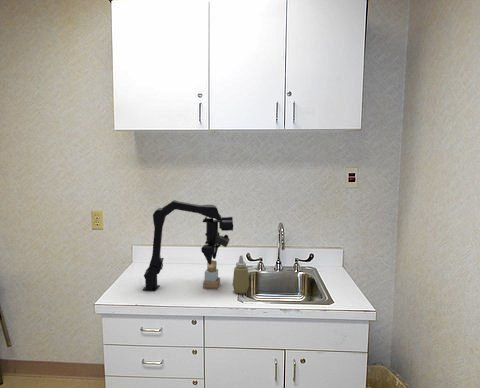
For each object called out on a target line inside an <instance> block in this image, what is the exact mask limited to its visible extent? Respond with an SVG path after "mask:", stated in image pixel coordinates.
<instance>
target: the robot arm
mask: <svg viewBox="0 0 480 388" xmlns="http://www.w3.org/2000/svg"><path fill="white" fill-rule="evenodd" d="M175 210H176V211H177V210H178V211H184V212H189V213H194V214H199V215H202V216H203V217H204V218H203V219H202V223H205V224H206V225H205V226H206V230H205V231H206V232H205V236H206V238H205V239H206V241H205V243H204V245H203V246H202V247H200V249H201V250H200V251H201V253H202V254H203V255H204V257H205V260H206V262H208V264H210V265H211V262H212V260H215V259H216V257H217V253H218V250H219V248H220V247H221V246H222V247H224V248H227V247H228V245H229V243H230V241H231V240H230V238H229V235H228V234H224V235H221V234H220V232H219V229H220V230H221V232H223V231H224V232H226V231H231V232H233V230H234V221H233V219H234V218H233V216H228V217H227V216H222V215H221V214H220V213H219V210H218V207H217V205H214V204H196V203H195V204H194V203H189V202H184V201H179V200H175V199H174V200H172V201H171V202H169V203H167V204H166V205H164V206H163V207H158V208H157V209H155V211H154V212H153V214H152V219H153V220H152V221H153V227H154V230H153V231H154V232H153V233H154V234H153V242H152V253H151V258H150V262H149V264H148V267H147V268H146V270H145V272H144V274H143V277H144V282H145V284H144V285H145V287H143V288H142V291H147V292H150V291H151V292H152V291H153V292H155V291H157V290H158V289H159V288H160V287H161V285H159V284H158V275H159V274H160V272H161V271H162V270H163V267H164V257H161V251H162V240H163V239H162V238H163V228H164V224H165V221H166V218H167V216H169V214H171V213H172V212H174V211H175Z"/></svg>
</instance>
